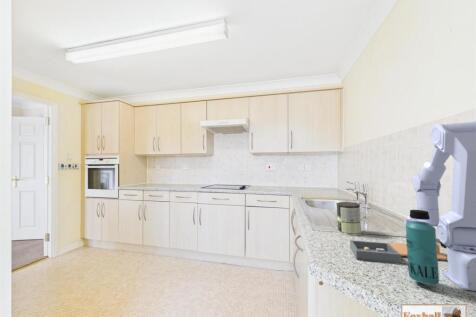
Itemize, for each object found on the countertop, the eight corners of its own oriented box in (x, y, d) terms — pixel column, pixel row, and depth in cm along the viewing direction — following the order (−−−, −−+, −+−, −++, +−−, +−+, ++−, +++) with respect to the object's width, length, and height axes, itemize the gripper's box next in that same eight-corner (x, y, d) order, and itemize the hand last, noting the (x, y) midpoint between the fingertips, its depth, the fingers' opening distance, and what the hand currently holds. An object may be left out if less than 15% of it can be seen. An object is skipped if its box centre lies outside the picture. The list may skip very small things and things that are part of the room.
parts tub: (401, 263, 68) (400, 254, 68) (356, 259, 72) (356, 250, 72) (388, 251, 78) (388, 243, 78) (350, 247, 82) (350, 240, 82)
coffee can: (333, 231, 104) (331, 203, 105) (348, 228, 108) (346, 201, 109) (350, 237, 95) (349, 206, 96) (366, 234, 99) (364, 204, 99)
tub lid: (449, 261, 68) (448, 249, 69) (400, 257, 73) (399, 245, 73) (429, 248, 79) (428, 237, 80) (388, 245, 84) (387, 235, 84)
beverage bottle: (424, 277, 59) (419, 207, 60) (448, 291, 53) (442, 212, 54) (402, 278, 59) (397, 208, 60) (423, 292, 52) (418, 212, 53)
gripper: (445, 207, 77) (448, 244, 76) (399, 205, 81) (401, 240, 81) (459, 210, 70) (462, 251, 70) (407, 209, 75) (410, 247, 74)
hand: (430, 246), depth 75 cm, fingers open, 7 cm apart
